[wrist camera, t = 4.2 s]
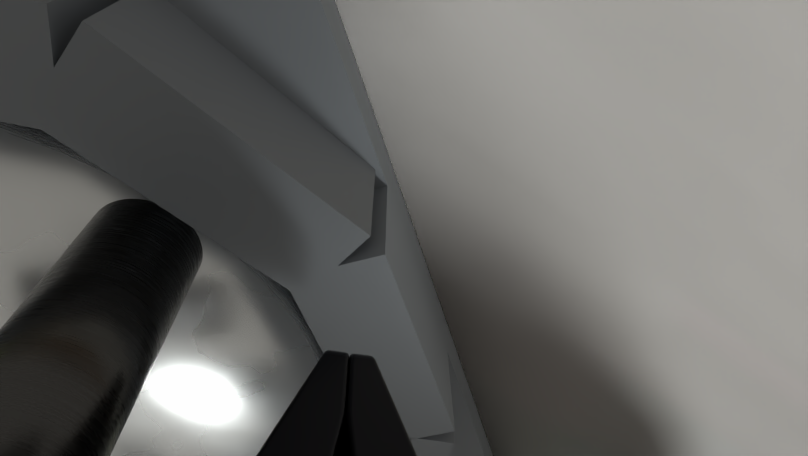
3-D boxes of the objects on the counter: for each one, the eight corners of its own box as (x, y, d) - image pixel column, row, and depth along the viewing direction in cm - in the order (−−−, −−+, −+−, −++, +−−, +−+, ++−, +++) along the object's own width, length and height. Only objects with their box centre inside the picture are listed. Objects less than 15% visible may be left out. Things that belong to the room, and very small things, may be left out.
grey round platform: (498, 471, 21) (518, 599, 17) (-1, 559, 24) (-70, 681, 21) (234, -290, 9) (126, -380, 5) (-672, 89, 12) (-1100, 187, 9)
